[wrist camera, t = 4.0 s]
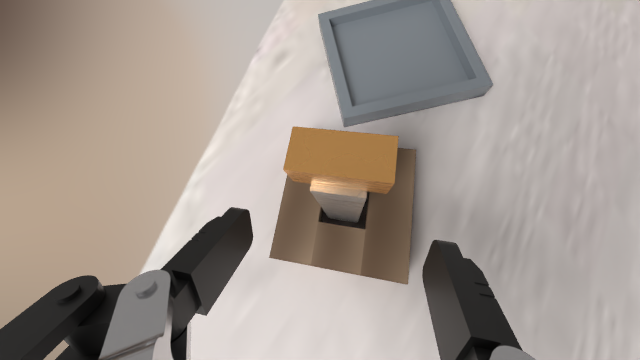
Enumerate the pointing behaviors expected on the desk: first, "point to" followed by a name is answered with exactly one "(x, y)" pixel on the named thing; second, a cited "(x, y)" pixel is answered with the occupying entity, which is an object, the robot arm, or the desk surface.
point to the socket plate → (351, 229)
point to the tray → (399, 58)
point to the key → (341, 167)
